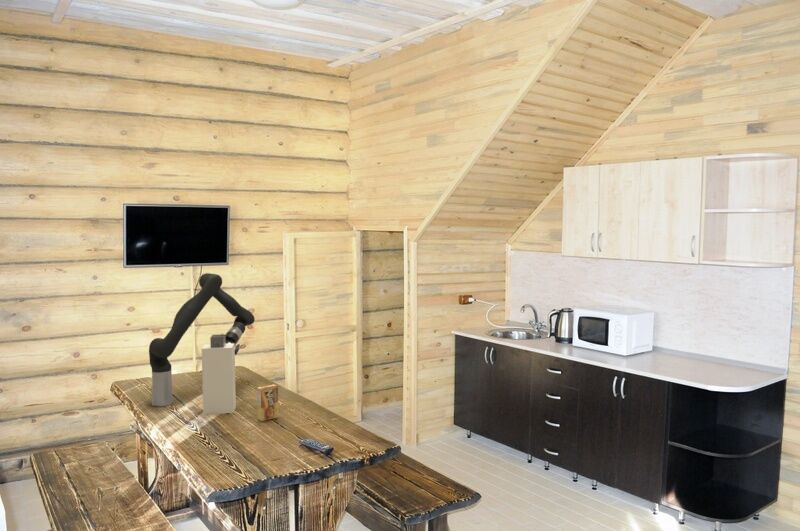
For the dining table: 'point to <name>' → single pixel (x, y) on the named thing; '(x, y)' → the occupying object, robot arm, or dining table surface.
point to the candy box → (267, 402)
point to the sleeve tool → (218, 341)
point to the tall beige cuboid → (218, 379)
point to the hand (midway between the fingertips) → (219, 355)
